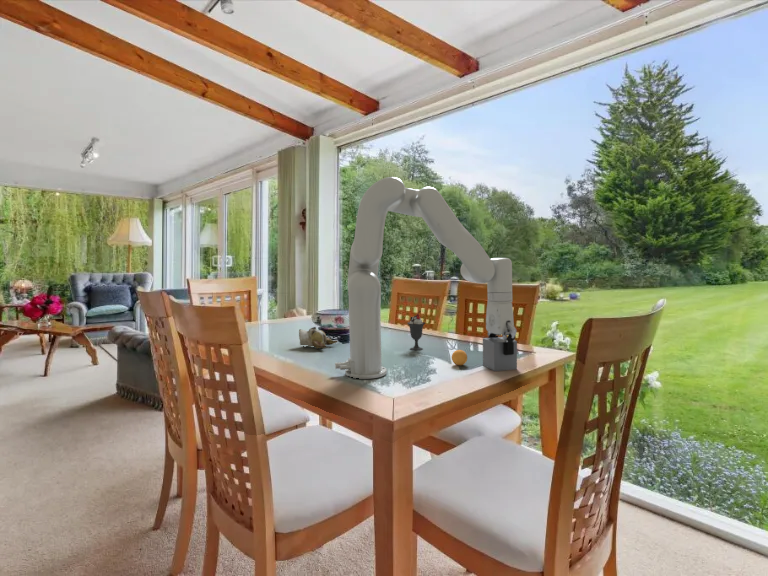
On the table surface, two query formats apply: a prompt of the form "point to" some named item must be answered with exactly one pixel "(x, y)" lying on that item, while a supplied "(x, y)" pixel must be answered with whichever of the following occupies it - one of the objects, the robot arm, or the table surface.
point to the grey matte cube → (498, 355)
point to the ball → (459, 357)
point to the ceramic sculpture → (314, 338)
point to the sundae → (416, 330)
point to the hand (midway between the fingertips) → (500, 351)
